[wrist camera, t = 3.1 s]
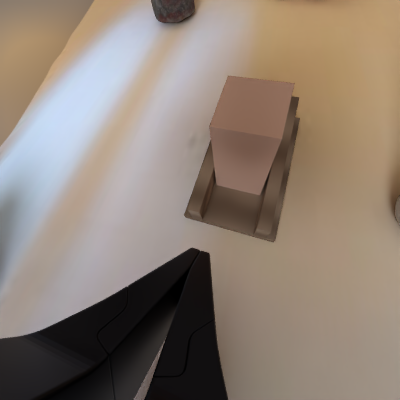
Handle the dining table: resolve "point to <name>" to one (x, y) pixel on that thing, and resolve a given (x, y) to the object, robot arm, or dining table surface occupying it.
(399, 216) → the plastic bottle
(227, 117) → the block
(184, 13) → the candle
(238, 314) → the dining table surface
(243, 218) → the chute
